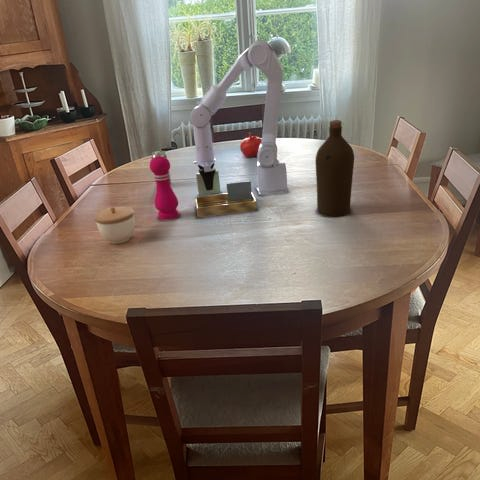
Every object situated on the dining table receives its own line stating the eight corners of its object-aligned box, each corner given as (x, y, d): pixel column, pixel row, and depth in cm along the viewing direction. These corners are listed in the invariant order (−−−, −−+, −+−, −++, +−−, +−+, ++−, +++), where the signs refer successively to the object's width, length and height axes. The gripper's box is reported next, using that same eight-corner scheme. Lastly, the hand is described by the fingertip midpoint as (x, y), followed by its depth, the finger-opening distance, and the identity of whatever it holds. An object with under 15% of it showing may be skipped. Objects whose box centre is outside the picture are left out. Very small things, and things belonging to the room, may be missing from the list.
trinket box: (120, 249, 131) (112, 216, 126) (93, 243, 136) (84, 212, 131) (146, 234, 139) (139, 203, 134) (119, 229, 144) (112, 199, 139)
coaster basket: (252, 199, 156) (251, 190, 154) (256, 211, 147) (256, 201, 145) (196, 206, 155) (194, 197, 153) (197, 218, 146) (196, 208, 144)
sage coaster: (220, 192, 165) (218, 170, 161) (220, 193, 164) (218, 171, 160) (198, 195, 164) (195, 173, 160) (198, 196, 164) (196, 174, 159)
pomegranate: (264, 157, 198) (263, 134, 193) (240, 159, 198) (238, 136, 193) (264, 151, 206) (262, 128, 201) (241, 153, 206) (239, 130, 201)
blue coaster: (252, 203, 151) (250, 180, 147) (252, 204, 151) (250, 181, 147) (228, 206, 151) (226, 183, 147) (228, 207, 150) (226, 184, 146)
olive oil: (355, 216, 137) (359, 123, 123) (317, 219, 137) (318, 127, 124) (348, 203, 146) (351, 115, 132) (313, 206, 146) (313, 119, 133)
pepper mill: (184, 213, 151) (174, 147, 140) (174, 221, 145) (163, 154, 134) (163, 212, 153) (152, 147, 142) (153, 220, 147) (140, 154, 137)
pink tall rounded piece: (160, 189, 174) (154, 155, 167) (154, 186, 177) (148, 152, 171) (173, 185, 176) (168, 152, 169) (167, 182, 180) (161, 149, 173)
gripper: (191, 142, 161) (196, 182, 169) (192, 152, 149) (198, 195, 156) (211, 140, 162) (216, 180, 169) (215, 150, 149) (219, 192, 157)
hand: (209, 187), depth 163 cm, fingers open, 5 cm apart
